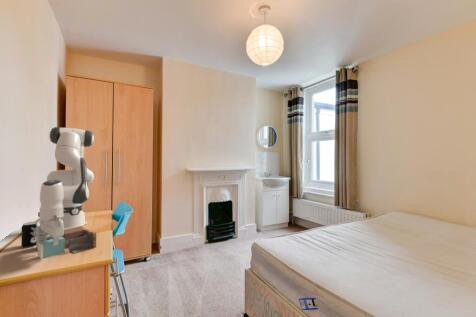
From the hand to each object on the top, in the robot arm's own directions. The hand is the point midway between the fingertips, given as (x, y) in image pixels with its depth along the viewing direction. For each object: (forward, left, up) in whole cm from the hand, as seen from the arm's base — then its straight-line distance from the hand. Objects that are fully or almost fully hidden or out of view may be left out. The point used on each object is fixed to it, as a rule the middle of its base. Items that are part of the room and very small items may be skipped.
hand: (51, 242), depth 107 cm
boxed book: (0, 0, -6) cm, 6 cm away
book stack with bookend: (0, +11, -6) cm, 12 cm away
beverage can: (-23, -3, -6) cm, 24 cm away
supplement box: (-13, +1, -6) cm, 15 cm away
